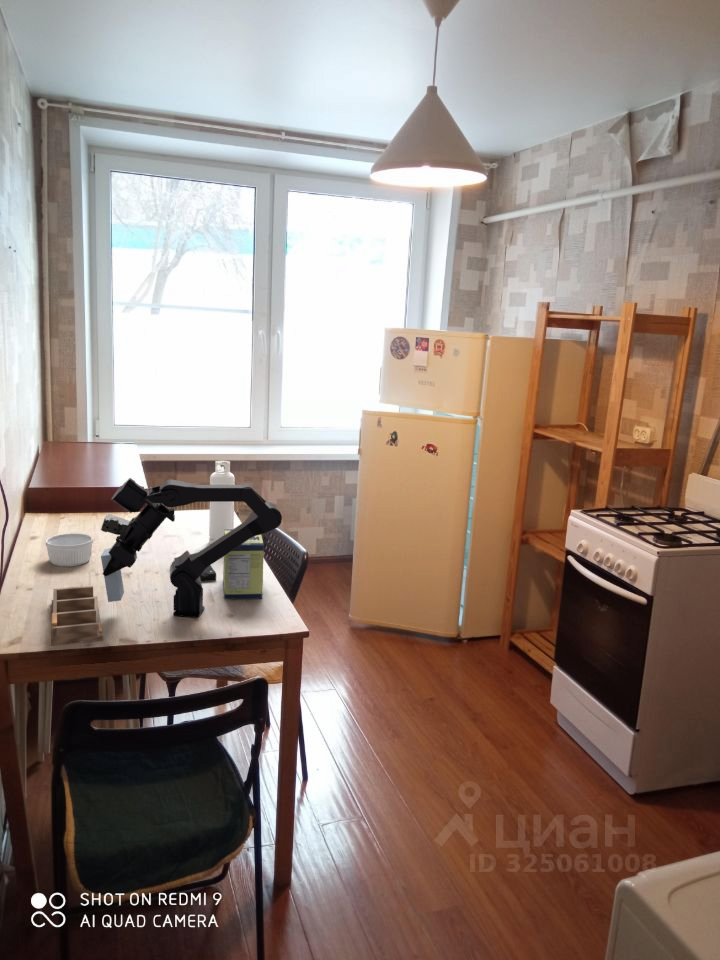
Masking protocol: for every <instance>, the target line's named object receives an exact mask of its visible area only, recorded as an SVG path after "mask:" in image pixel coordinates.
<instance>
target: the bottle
mask: <svg viewBox="0 0 720 960" xmlns="http://www.w3.org/2000/svg"><path fill="white" fill-rule="evenodd" d="M214 465H215V468H214V469H215V470H214V471H215V472H212V473H211V474H210V476H209V485H236V484H235V480H236V479H235V475H234V473H232V472H231V461H229V460H215V464H214ZM234 521H235V502H209V521H208V523H209V524H208V529H209V530H208V531H209V532H208V536H209V537H208V543H210V544H212V543H213V542H215V541H216V540H218V539H219V538H221V537H222V536H224V529H226V530H233V529H234V528H235V527H234V526H235V524H234V523H235V522H234ZM210 544H209V545H210Z"/></svg>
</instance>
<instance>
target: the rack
mask: <svg viewBox="0 0 720 960" xmlns="http://www.w3.org/2000/svg"><path fill="white" fill-rule="evenodd" d="M52 590H53V594H52V599H51V609H50V611H51V612H50V613H51V615H50V646H56V645H65V644H75V643H83V642H84V643H85V642H94V641H103V629H102V623H101V615H100V609H99V607H100V606H99V599H98V596H96V595H95V596H94V586H93V585H88V586H86V585H85V586H75V587H73V586H72V587H61V588H53V589H52Z"/></svg>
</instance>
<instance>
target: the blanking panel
mask: <svg viewBox="0 0 720 960" xmlns="http://www.w3.org/2000/svg"><path fill="white" fill-rule="evenodd" d="M110 549H111V547H110V548H105V549H104V550H103V551H102V553H101V555H100V558H101V559H100V560H101V565H102V571H103V572H104V570H105V568H106V566H107V564H108V563H109V561H110V559H111V555H110V554H109V553H108V552H109V551H110ZM103 572H102V573H103ZM103 579H104V583H105V589H106V590H105V591H106V597H107V603H113V602H120V601H122V599H123V597H124V594H125V587H124V582H123V576H122V569H120V570H118V571H116V572H114V573H112V574H110V575H108V576H104V575H103Z"/></svg>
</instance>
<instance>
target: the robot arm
mask: <svg viewBox="0 0 720 960" xmlns="http://www.w3.org/2000/svg"><path fill="white" fill-rule="evenodd" d="M110 500H111V501H113V502H114V503H115V504H117V505H118V506H119V507H121V508H122V509H124V510H125V511H127V512H129V514H132V513H138V512H139V511H140V512H139V513H138V514H137V515H136V516H134V517H132V519H130V520H128V519H125V518H122V517H120V516H116V515H113V514H109V513H108V514H106V516H105V517H104V519H103V522H102V525H101V528H100V530H101V531H102V532H104V533H110V534H113V535H117V536H116V537H115V542H114V543H113V545H112V546H111V547H110V548H111V549H110V551H109V552H108V553H109V554H110V555H111V559H110V561H109V563H108V564H107V566H106V568H105V570H104V572H102V575H103V577H104V576H108V575H110V574H112V573H114V572H116V571H118V570H120V569H121V570H123V569H124V568H126V567H127V568H131V567H133V565H134V564H135V563H136V561H137V558H138V554H137V552H138V553H139V552H140V551H141V550H142V548H143V546H144V544H146V543H147V541H148V540H150V539H151V538H153V534H154V533H155V532H156V531H157V530H158V528H159V527H160V526H161V524H163V523H164V521H165V520H166V519H167V520H170V521H171V522H172V523H173V522H175V519H176V515H175V510H176V509H175V508H177V507H181V506H182V507H183V506H186V505H190V504H192V503H199V502H200V503H201V502H202V503H203V502H207V503H210V502H234V503H235V502H242V503H245V505H246V506H248V507H249V509H250V510H251V511H252V512H251V513H250V514H249V515H248V517H247V518H246V519H245V521H244V522H241V523H240V524H238V525H237V526H236V527H234V529H233V530H231V531H230V532H228V533H227V534H225V535H224V536H222V537H221V538H219V539H218V540H216V541H215V542H213V543H212V544H209V545H207V546H206V547H204V548H203V549H201V550H200V551H198V552H195V553H191V554H190V551H189V550H187V549H186V551H184V552H183V553H182V554H181V555H179V556H177V557H174V558H173V560H174V562H173V561H172V562H173V563H172V562H171V564H170V566H169V579H170V583H171V585H172V586H174V587H175V588H176V590H175V594H174V595H173V611H174V612H173V614H172V615H173V616H175V617H184V618H185V617H187V618H199V617H200V615H201V614H202V613H203V611H204V610H205V609H206V608H205V606H204V605H203V604H204V601H203V600H204V588H203V585H202V582H201V579H200V575H201V574H202V573H203V571H204V570H205V569H206V568H207V567H208V566H211V565H213V564H214V563H216V562H217V561H218V560H219V561H220V559H222V558H224V556H225V555H226V554H228V553H229V552H231V551H232V550H234V549H235V548H237V547H238V546H240V545H241V544H243V543H244V542H246V541H247V540H249V539H250V538H252V537H254V536H257V535H261V536H262V535H265V534H267V533H269V532H272V531H273V530H276V529H278V528H279V527H280V526H281V525H282V521H283V516H282V513H281V511H280V510H279V508H278V507H277V506H276V505H275V503H273V502H268V501H266V500H265V499H264V498H263V497H262V496H261V495H260V494H259V493H258V492H257V491H255V489H254V487H253V486H252V485H251V484H248V483H244V484H235V485H210V484H194V483H191V482H187V481H183V480H177V479H176V480H175V479H166V480H164V481H163V482H162V483H161V484H160V485H156V486H153V487H149V488H147V489H145V488H144V487H143V486H141V485H140V484H139V483H137V482H136V481H135V480H134V479H132V478H131V477H129V478H128V479H127V480H126V481H125V482H124V483H123V484H122V485H120V486H119V487H118V488H117V490H116V491H115V493H114V494H113V496H112V497H111V499H110ZM144 505H145V506H144Z"/></svg>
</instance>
